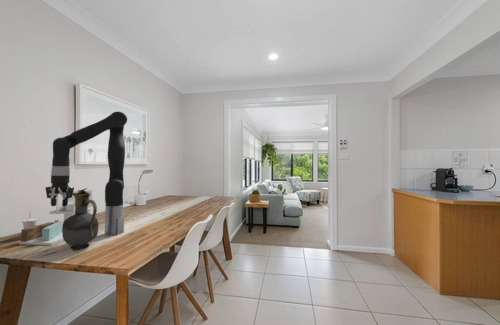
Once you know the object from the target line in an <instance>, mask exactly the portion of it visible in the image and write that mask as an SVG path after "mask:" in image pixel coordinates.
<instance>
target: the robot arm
mask: <svg viewBox="0 0 500 325" xmlns="http://www.w3.org/2000/svg"><path fill="white" fill-rule="evenodd" d="M127 122H128V117H127V115H126V114H125V113H124V112H122V111H113V112H112V113H111V114H110V115H108V116H107V117H105V118H102V119H101V120H99V121H97V122H94V123H92V124H90V125H87V126H85V127H83V128H80V129H78V130H75V131H73V132H71V133H70V134H68V135H66V136H63V137H57V138H56V139H54V140H53V141H52V142H53V143H52V164H51V169H50V172H51V173H50V184H51V186H46V187H45V193H46V198H47V199H50V207H55V206H56V207H57V195H59V194H60V195H61V196H62V198H63V200H62V206H67V205H68V199H69V198H72V193H73V192H75V188H74V186H69V183H70V178H71V177H70V176H71V170H70V153H71V149H72V148H74V147H76V146H77V145H80V144H82V143H85V142H88V141H89V140H91V139H93V138H96V137H97V136H99V135H101V134H102V133H105V132H106V131H108V130H109V138H108V145H107V162H108V167H109V176H108V181H107V183H106V184H105V187H104V188H105V189H104V202H105V205H104V206H105V210H104V212H105V213H104V235H105V236H117V235H120V234H122V233H124V232H125V216H124V215H123V214H124V197H123V196H124V188H125V182H124V180H125V179H124V166H125V162H126V161H125V160H126V159H125V158H126V146H125V141H124V130H125V129H124V128H125V125H126V124H127Z"/></svg>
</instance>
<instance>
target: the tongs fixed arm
mask: <svg viewBox="0 0 500 325" xmlns="http://www.w3.org/2000/svg"><path fill="white" fill-rule="evenodd" d="M54 223H55V221H54V222H53V221H51V222H45V223H41V224H38V225H37V224H36V226H33V227H29V228H26V229H24V228H23V229H21V234H20V238H21V239H20V242H21V241H29V240H32V239H35V238H38V237H41V236H42V229H44V228H46V227H48V226H50V225H52V224H54Z"/></svg>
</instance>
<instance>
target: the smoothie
mask: <svg viewBox="0 0 500 325" xmlns="http://www.w3.org/2000/svg"><path fill="white" fill-rule="evenodd" d="M28 214H29V215H28V216H29V217H28V219H23V220H22V221H21V223H22V226H23V229H26V228H29V227H33V226H37V223H38V221H39V219H38V218H31V216H32V215H31V214H32V212H31V211H30V212H29V213H28Z"/></svg>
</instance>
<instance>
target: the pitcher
mask: <svg viewBox="0 0 500 325" xmlns="http://www.w3.org/2000/svg"><path fill="white" fill-rule="evenodd" d="M87 190H88V188H87V187H86V188H84V189H79V190H77V191H79V192H78V193H72V195H73V196H74V197H75V215H73V216H70V217H69V218H67V219H66V220H65V221H64V220H63V226H62V235H63V240H64V242H65V243H66V244H67V245H69V246H70V249H71V250H72V251H78V250H79V251H80V250H84V249H87V248H89V247H90V244H89V243H91V242H92V241H94V240H95V239H96V238H97V236H98V233H99V221H98V218H97V217H96V214H97V211H98V210H97V204H96V201H95V200H94V199H92V200H89V196H90V195H91V194H89V193H88V192H86V191H87ZM89 203H91V204H92V205H93V208H92V209H93V211H92V213H90V214H88V213H87V210H88V205H89Z"/></svg>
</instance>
